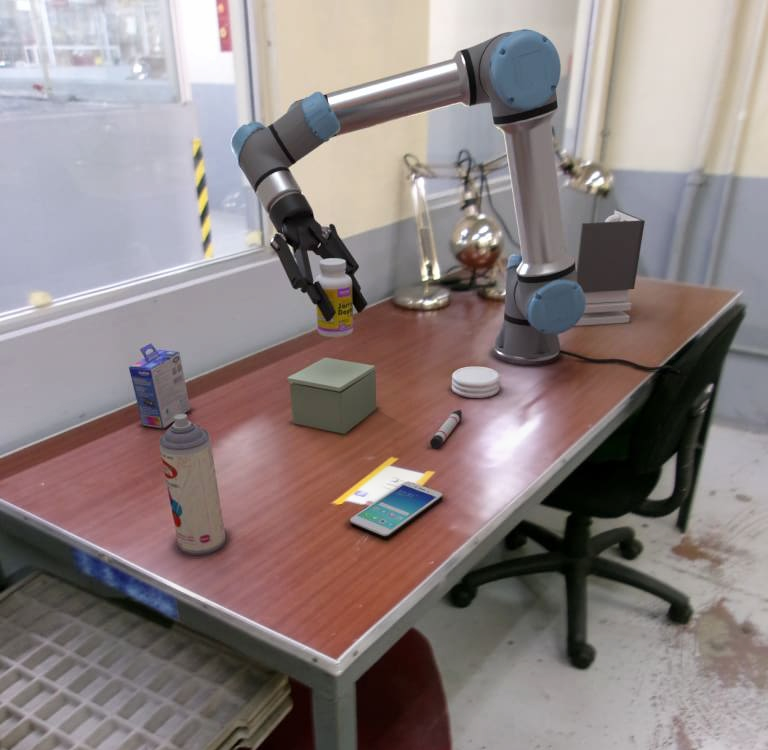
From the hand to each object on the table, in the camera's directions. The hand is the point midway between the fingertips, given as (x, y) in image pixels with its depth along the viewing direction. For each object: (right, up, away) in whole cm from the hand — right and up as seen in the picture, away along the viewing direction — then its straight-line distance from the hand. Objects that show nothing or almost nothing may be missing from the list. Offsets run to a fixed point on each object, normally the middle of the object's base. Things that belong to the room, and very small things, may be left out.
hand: (347, 312), depth 133 cm
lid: (-3, -10, +8) cm, 13 cm away
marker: (+19, -21, +7) cm, 29 cm away
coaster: (+26, -10, +23) cm, 36 cm away
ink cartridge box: (-37, -17, +14) cm, 43 cm away
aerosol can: (-20, -40, -24) cm, 51 cm away
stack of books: (+61, +17, +66) cm, 91 cm away
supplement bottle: (-2, -3, +5) cm, 6 cm away
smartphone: (+9, -36, -18) cm, 41 cm away
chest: (-3, -17, +13) cm, 22 cm away
